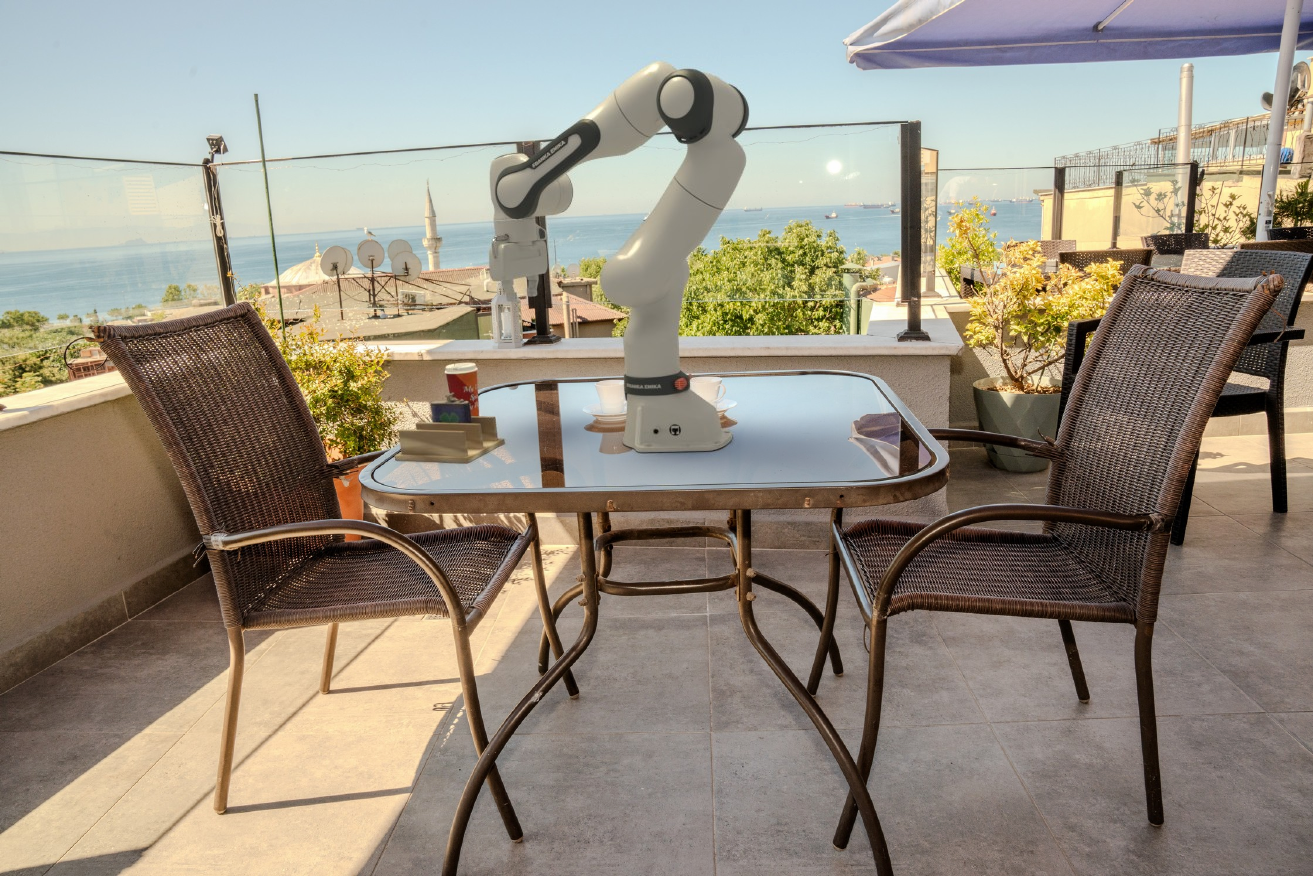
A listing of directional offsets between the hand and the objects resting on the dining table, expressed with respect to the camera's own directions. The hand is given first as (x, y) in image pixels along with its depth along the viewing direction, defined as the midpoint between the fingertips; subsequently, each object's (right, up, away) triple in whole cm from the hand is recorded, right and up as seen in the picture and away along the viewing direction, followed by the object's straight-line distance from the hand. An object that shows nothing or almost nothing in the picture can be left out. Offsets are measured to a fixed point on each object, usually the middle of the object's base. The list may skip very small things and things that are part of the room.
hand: (522, 298), depth 189 cm
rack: (-13, -33, -9) cm, 37 cm away
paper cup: (-15, -27, +16) cm, 35 cm away
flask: (-13, -32, -6) cm, 35 cm away
